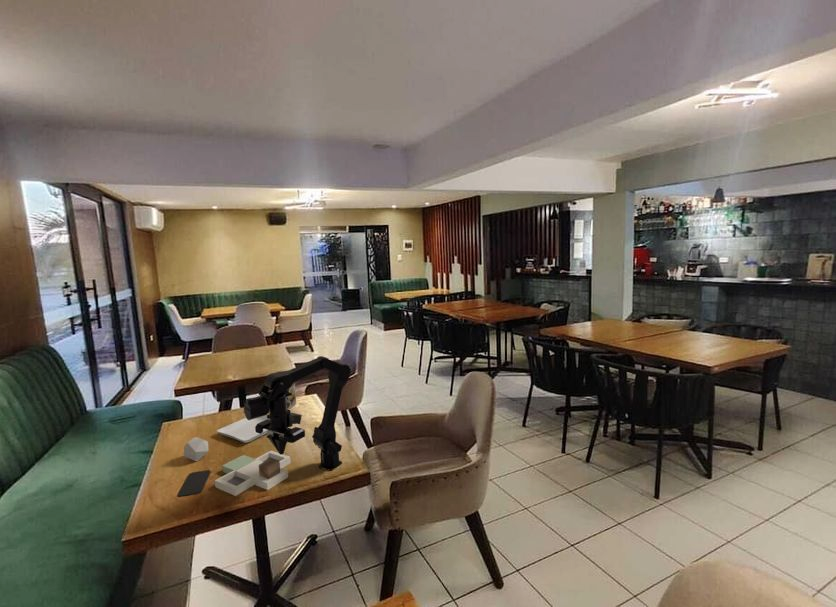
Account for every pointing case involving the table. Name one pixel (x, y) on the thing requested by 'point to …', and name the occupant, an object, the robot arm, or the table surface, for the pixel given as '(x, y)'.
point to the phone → (194, 483)
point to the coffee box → (291, 397)
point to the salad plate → (243, 429)
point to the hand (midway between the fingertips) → (281, 453)
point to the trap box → (250, 473)
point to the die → (195, 449)
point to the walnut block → (269, 468)
